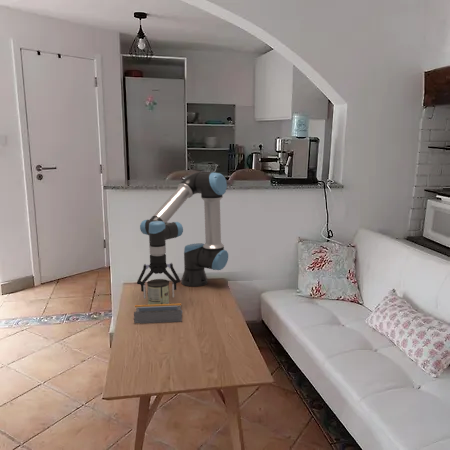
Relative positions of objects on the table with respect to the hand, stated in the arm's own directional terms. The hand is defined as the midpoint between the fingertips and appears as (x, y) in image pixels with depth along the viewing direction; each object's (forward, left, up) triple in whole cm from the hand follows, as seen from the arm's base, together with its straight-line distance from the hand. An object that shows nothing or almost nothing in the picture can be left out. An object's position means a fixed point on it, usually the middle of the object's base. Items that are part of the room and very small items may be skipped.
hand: (159, 297), depth 207 cm
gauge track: (0, +7, -6) cm, 9 cm away
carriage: (0, +10, -5) cm, 11 cm away
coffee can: (0, 0, -7) cm, 7 cm away
